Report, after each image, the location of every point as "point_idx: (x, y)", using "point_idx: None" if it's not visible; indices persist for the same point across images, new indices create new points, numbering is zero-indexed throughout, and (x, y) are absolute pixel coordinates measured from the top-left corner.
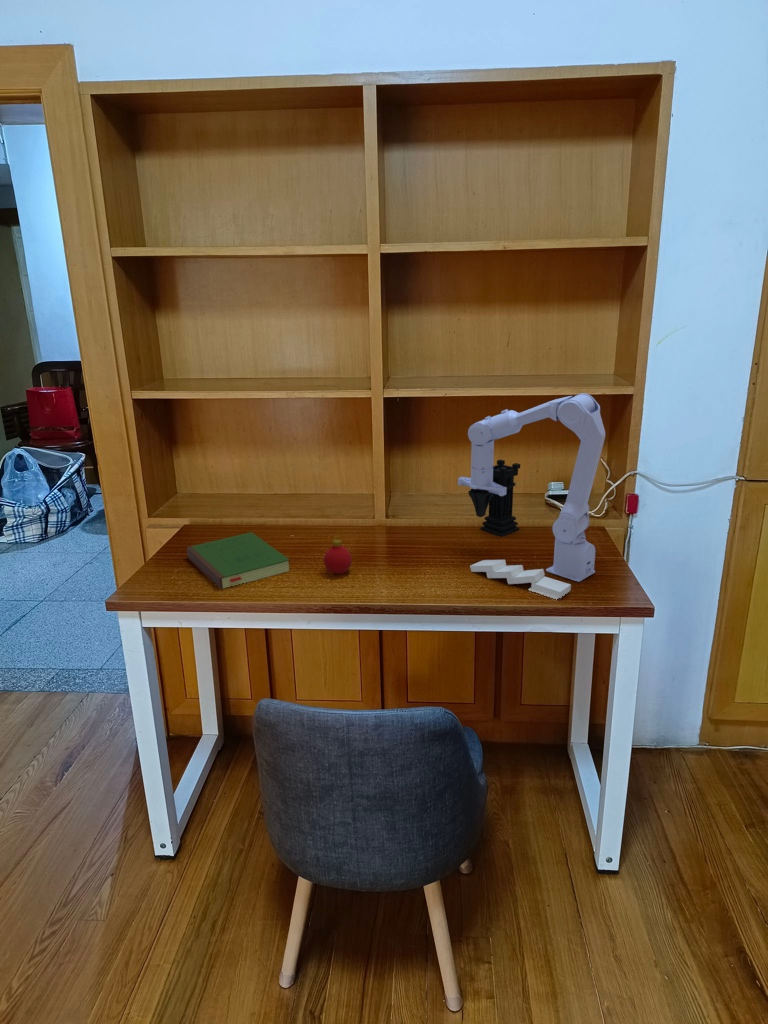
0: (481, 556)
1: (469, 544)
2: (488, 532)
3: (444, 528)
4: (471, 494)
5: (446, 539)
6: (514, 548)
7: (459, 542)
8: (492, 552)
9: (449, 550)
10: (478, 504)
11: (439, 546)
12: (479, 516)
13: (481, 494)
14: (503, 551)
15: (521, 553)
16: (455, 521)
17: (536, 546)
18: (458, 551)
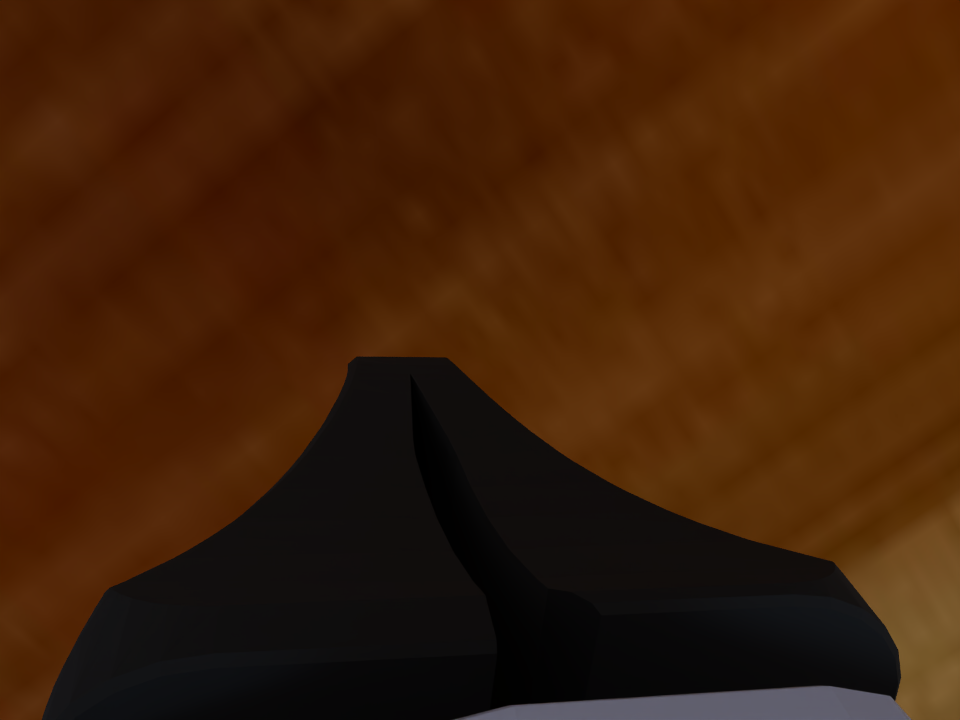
0: (266, 107)
1: (567, 296)
2: None
3: (955, 445)
4: (690, 571)
5: (829, 251)
6: (151, 495)
7: (680, 273)
8: (248, 279)
9: (662, 15)
10: (391, 467)
11: (812, 42)
12: (371, 357)
13: (118, 677)
14: (179, 372)
15: (6, 445)
16: (929, 610)
17: (33, 648)
18: (562, 59)
